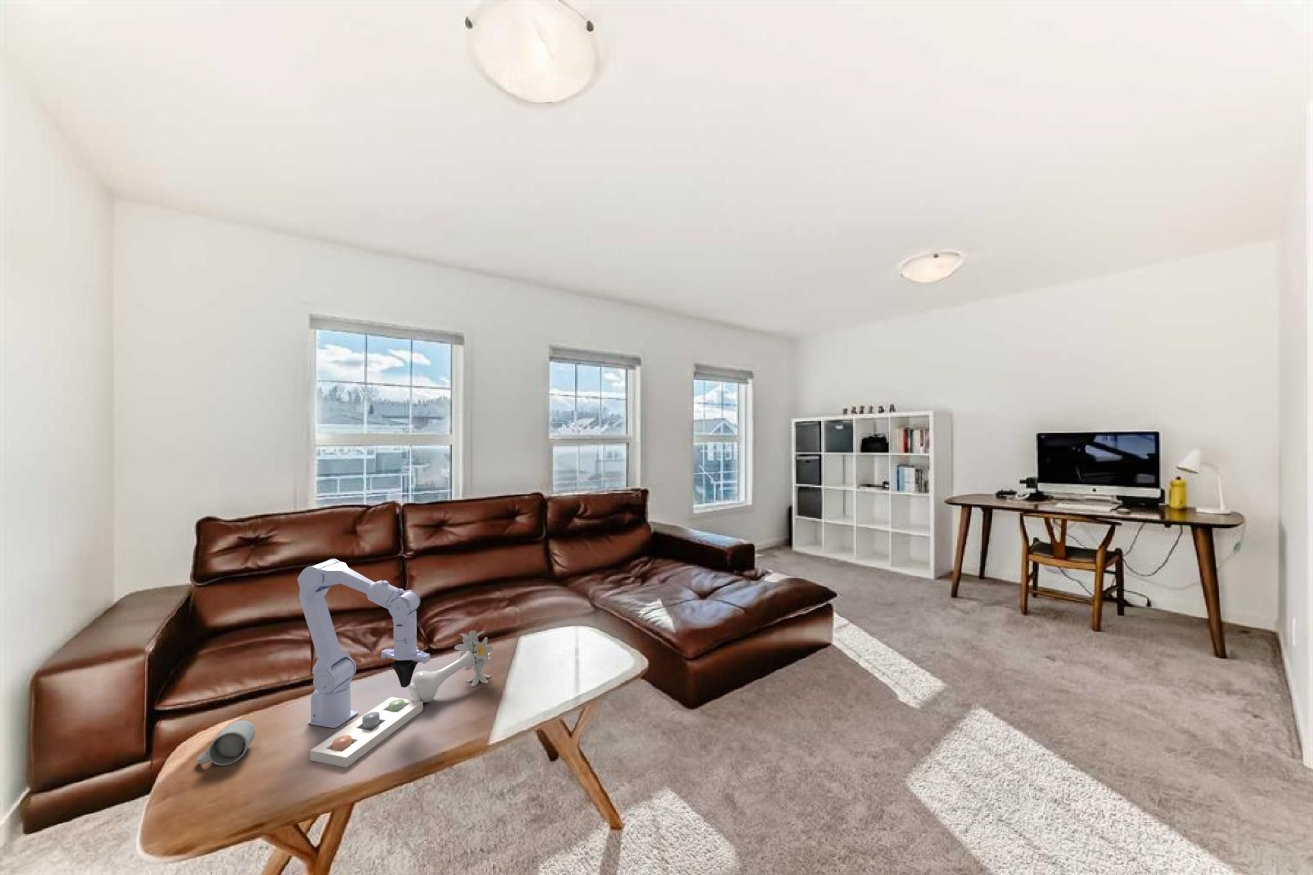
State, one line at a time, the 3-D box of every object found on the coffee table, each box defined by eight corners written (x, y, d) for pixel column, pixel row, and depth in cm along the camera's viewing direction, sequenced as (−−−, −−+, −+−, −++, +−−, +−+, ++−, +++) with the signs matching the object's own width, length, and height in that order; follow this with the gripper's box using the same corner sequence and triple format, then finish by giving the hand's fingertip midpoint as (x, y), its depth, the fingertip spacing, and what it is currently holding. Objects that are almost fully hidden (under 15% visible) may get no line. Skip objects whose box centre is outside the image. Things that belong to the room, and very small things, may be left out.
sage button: (385, 716, 142) (385, 705, 142) (396, 709, 146) (395, 698, 146) (397, 718, 141) (397, 707, 141) (407, 711, 145) (407, 700, 145)
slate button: (358, 730, 134) (358, 718, 134) (371, 722, 138) (370, 710, 138) (371, 733, 133) (371, 720, 133) (383, 724, 137) (382, 712, 137)
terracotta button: (328, 756, 125) (328, 743, 125) (342, 746, 129) (342, 733, 129) (341, 758, 124) (341, 745, 124) (355, 748, 128) (355, 736, 128)
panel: (310, 759, 124) (310, 750, 124) (391, 705, 149) (391, 696, 149) (346, 767, 121) (346, 757, 121) (422, 709, 146) (422, 701, 146)
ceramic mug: (257, 742, 131) (256, 712, 131) (247, 760, 124) (246, 729, 124) (205, 754, 127) (204, 723, 127) (191, 773, 120) (190, 741, 120)
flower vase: (428, 730, 148) (502, 678, 165) (416, 680, 142) (494, 632, 160) (408, 707, 156) (481, 660, 174) (396, 659, 150) (472, 615, 168)
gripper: (437, 633, 143) (437, 681, 143) (394, 629, 146) (394, 675, 146) (419, 643, 136) (420, 694, 136) (375, 638, 139) (375, 687, 140)
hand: (405, 685), depth 141 cm, fingers closed
